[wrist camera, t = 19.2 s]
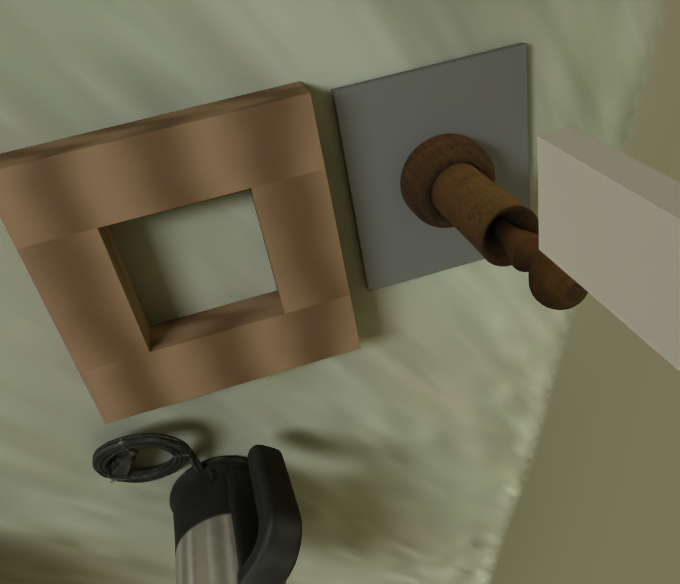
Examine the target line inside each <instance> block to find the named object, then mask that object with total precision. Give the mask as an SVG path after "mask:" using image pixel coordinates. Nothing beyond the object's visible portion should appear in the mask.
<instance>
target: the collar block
mask: <svg viewBox="0 0 680 584" xmlns="http://www.w3.org/2000/svg"><path fill="white" fill-rule="evenodd" d="M246 189H250V190H251V194H252V198H253V201H254V205H255V209H256V212H257V216H258V220H259V224H260V227H261V231H262V235H263V238H264V242H265V246H266V250H267V253H268V257H269V261H270V264H271V268H272V272H273V276H274V279H275V283H276V287H277V290H278V291H274V292H271V293H267V294H264V295H260V296H257V297H253V298H249V299H246V300H242V301H239V302H235V303H232V304H228V305H224V306H221V307H217V308H214V309H210V310H207V311H203V312H200V313H196V314H192V315H189V316H185V317H182V318H178V319H175V320H171V321H168V322H164V323H160V324H157V325H153V326H150V325H149V322H148V320H147V317H146V315H145V312H144V310H143V308H142V305H141V303H140V300H139V298H138V295H137V293H136V290H135V288H134V286H133V283H132V281H131V278H130V276H129V273H128V271H127V269H126V266H125V264H124V261H123V259H122V256H121V254H120V251H119V249H118V247H117V244H116V242H115V239H114V237H113V234H112V232H111V230H110V227H109V225H111V224H115V223H119V222H123V221H127V220H130V219H134V218H138V217H142V216H146V215H150V214H153V213H157V212H161V211H165V210H169V209H173V208H177V207H180V206H184V205H188V204H192V203H196V202H200V201H203V200H207V199H211V198H215V197H219V196H223V195H227V194H230V193H234V192H238V191H242V190H246ZM0 217H1V219H2V221H3V223H4V225H5V227H6V229H7V231H8V233H9V235H10V237H11V239H12V241H13V243H14V245H15V247H16V249H17V251H18V253H19V255H20V257H21V259H22V261H23V262H24V264H25V266H26V268H27V270H28V272H29V274H30V276H31V278H32V280H33V282H34V284H35V286H36V288H37V290H38V292H39V294H40V296H41V298H42V300H43V302H44V304H45V306H46V308H47V310H48V312H49V314H50V316H51V318H52V320H53V322H54V324H55V326H56V327H57V329H58V331H59V333H60V335H61V337H62V339H63V341H64V343H65V345H66V347H67V349H68V351H69V353H70V355H71V357H72V359H73V361H74V363H75V365H76V367H77V369H78V371H79V373H80V375H81V377H82V379H83V381H84V383H85V385H86V387H87V389H88V390H89V392H90V394H91V396H92V398H93V400H94V402H95V404H96V406H97V408H98V410H99V412H100V414H101V416H102V418H103V420H104V422H105V424H106V423H110V422H113V421H116V420H120V419H123V418H127V417H130V416H133V415H137V414H140V413H143V412H147V411H150V410H154V409H157V408H160V407H164V406H167V405H170V404H174V403H177V402H181V401H184V400H187V399H191V398H194V397H197V396H201V395H204V394H207V393H211V392H214V391H218V390H221V389H224V388H228V387H231V386H234V385H238V384H241V383H245V382H248V381H251V380H255V379H258V378H261V377H265V376H268V375H272V374H275V373H278V372H282V371H285V370H288V369H292V368H295V367H299V366H302V365H305V364H309V363H312V362H315V361H319V360H322V359H325V358H329V357H332V356H336V355H339V354H342V353H346V352H349V351H352V350H356V349H359V348H361V347H360V342H359V337H358V332H357V327H356V322H355V317H354V311H353V306H352V301H351V296H350V291H349V286H348V281H347V276H346V271H345V266H344V261H343V256H342V251H341V246H340V241H339V235H338V230H337V225H336V220H335V215H334V210H333V205H332V200H331V195H330V190H329V185H328V180H327V175H326V170H325V165H324V159H323V154H322V149H321V144H320V139H319V134H318V129H317V124H316V119H315V114H314V109H313V104H312V99H311V94H310V92H309V91H308V90H307V89H306V88H305V87H304V85H303V84H302V83H301V82H300V81H299V82H295V83H291V84H287V85H283V86H279V87H274V88H270V89H266V90H262V91H258V92H254V93H250V94H246V95H241V96H237V97H233V98H229V99H225V100H221V101H217V102H213V103H208V104H204V105H200V106H196V107H192V108H188V109H184V110H179V111H175V112H171V113H167V114H163V115H159V116H155V117H151V118H146V119H142V120H138V121H134V122H130V123H126V124H122V125H117V126H113V127H109V128H105V129H101V130H97V131H93V132H89V133H84V134H80V135H76V136H72V137H68V138H64V139H60V140H55V141H51V142H47V143H43V144H39V145H35V146H31V147H27V148H22V149H18V150H14V151H10V152H6V153H2V154H0Z"/></svg>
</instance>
